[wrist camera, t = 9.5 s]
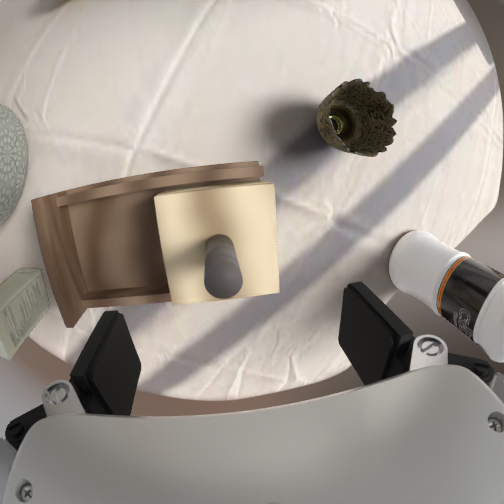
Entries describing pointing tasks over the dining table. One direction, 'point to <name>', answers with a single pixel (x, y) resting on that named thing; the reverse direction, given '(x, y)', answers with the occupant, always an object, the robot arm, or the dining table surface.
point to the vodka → (452, 288)
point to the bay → (115, 237)
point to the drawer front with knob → (219, 241)
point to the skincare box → (20, 308)
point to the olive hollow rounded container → (357, 119)
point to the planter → (11, 161)
